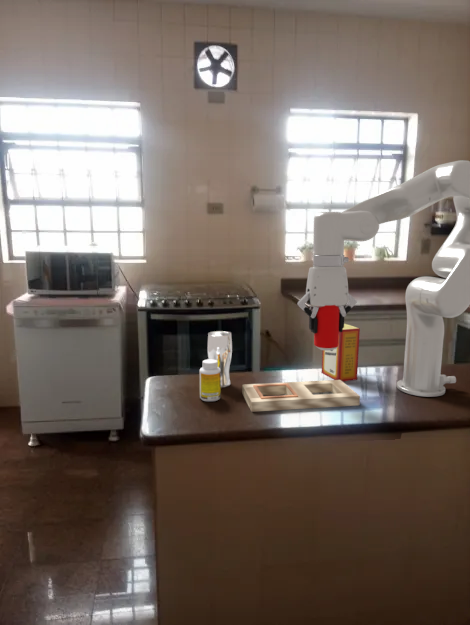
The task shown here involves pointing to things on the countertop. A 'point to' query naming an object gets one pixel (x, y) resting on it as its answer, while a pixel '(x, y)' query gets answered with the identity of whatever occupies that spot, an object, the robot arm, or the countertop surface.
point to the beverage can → (327, 327)
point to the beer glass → (221, 353)
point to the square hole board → (298, 395)
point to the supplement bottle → (210, 380)
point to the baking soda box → (343, 356)
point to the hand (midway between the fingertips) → (326, 331)
